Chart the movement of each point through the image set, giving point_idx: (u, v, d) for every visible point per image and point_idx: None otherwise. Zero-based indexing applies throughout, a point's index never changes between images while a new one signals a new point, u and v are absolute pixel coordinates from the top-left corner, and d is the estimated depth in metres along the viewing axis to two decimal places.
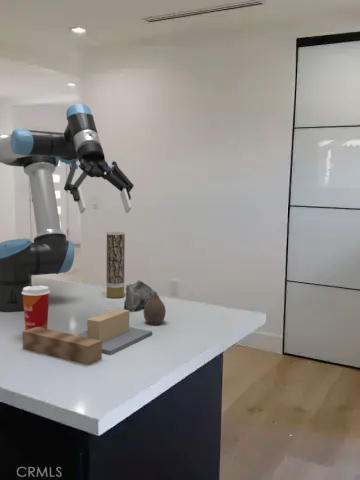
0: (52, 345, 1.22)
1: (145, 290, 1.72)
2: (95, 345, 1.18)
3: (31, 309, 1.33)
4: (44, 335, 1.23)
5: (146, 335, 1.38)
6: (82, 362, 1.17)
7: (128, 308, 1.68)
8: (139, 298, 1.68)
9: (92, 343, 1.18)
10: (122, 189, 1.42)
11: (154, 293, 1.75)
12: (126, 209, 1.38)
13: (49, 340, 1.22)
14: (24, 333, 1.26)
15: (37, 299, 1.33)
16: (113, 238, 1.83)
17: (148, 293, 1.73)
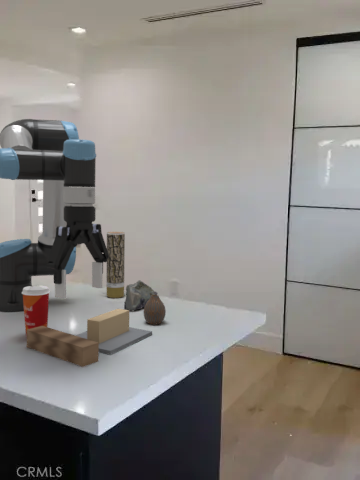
0: (51, 345, 1.22)
1: (145, 290, 1.72)
2: (91, 347, 1.17)
3: (31, 309, 1.33)
4: (45, 335, 1.23)
5: (146, 335, 1.38)
6: (77, 363, 1.16)
7: (128, 308, 1.67)
8: (139, 298, 1.68)
9: (88, 345, 1.16)
10: None
11: (154, 293, 1.75)
12: (94, 285, 1.25)
13: (49, 339, 1.22)
14: (28, 331, 1.28)
15: (37, 299, 1.33)
16: (113, 238, 1.83)
17: (148, 293, 1.72)
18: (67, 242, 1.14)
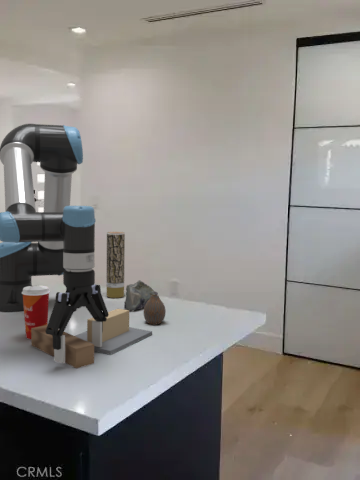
0: (51, 344, 1.22)
1: (145, 290, 1.72)
2: (85, 348, 1.16)
3: (31, 309, 1.33)
4: (46, 334, 1.24)
5: (146, 335, 1.38)
6: (71, 364, 1.15)
7: (128, 308, 1.67)
8: (139, 298, 1.68)
9: (82, 346, 1.15)
10: None
11: (154, 293, 1.75)
12: (94, 344, 1.26)
13: (49, 339, 1.23)
14: (32, 330, 1.29)
15: (37, 299, 1.33)
16: (113, 238, 1.83)
17: (148, 293, 1.72)
18: (66, 307, 1.16)
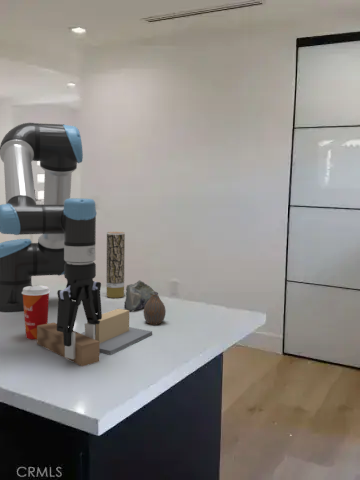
0: (56, 341, 1.23)
1: (145, 290, 1.72)
2: (91, 345, 1.17)
3: (31, 309, 1.33)
4: (51, 331, 1.25)
5: (146, 335, 1.38)
6: (77, 361, 1.17)
7: (128, 308, 1.67)
8: (139, 298, 1.68)
9: (88, 343, 1.17)
10: (88, 318, 1.24)
11: (155, 293, 1.74)
12: None
13: (54, 336, 1.24)
14: (38, 327, 1.30)
15: (37, 299, 1.33)
16: (113, 238, 1.83)
17: (148, 293, 1.72)
18: (70, 302, 1.17)
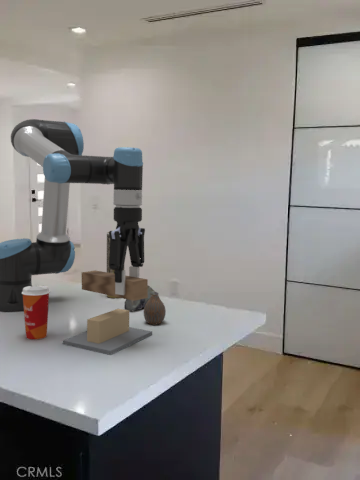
0: (105, 283, 1.34)
1: None
2: (141, 282, 1.28)
3: (31, 309, 1.33)
4: (98, 275, 1.36)
5: (146, 335, 1.38)
6: (129, 297, 1.28)
7: (128, 308, 1.67)
8: None
9: (138, 280, 1.28)
10: (132, 262, 1.35)
11: (155, 293, 1.74)
12: None
13: (102, 278, 1.35)
14: (83, 274, 1.40)
15: (37, 299, 1.33)
16: None
17: (149, 294, 1.72)
18: (120, 243, 1.28)
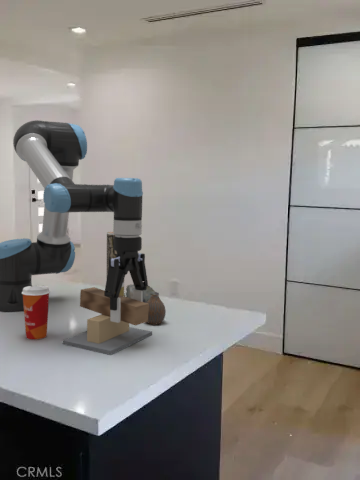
0: (105, 304, 1.34)
1: (145, 291, 1.71)
2: (142, 307, 1.29)
3: (31, 309, 1.33)
4: (98, 295, 1.36)
5: (146, 335, 1.38)
6: (130, 321, 1.29)
7: None
8: None
9: (140, 305, 1.29)
10: (136, 285, 1.37)
11: (155, 294, 1.74)
12: None
13: (102, 299, 1.35)
14: (82, 291, 1.40)
15: (37, 299, 1.33)
16: (113, 238, 1.83)
17: (149, 294, 1.72)
18: (118, 271, 1.28)
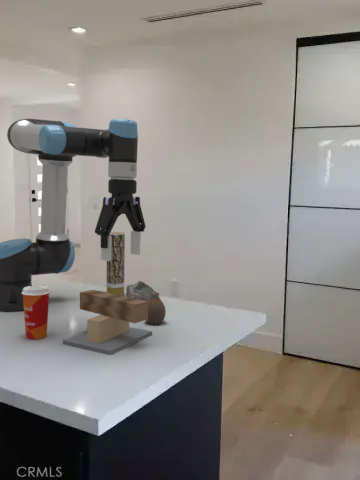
0: (104, 304, 1.34)
1: (146, 291, 1.71)
2: (141, 304, 1.29)
3: (31, 309, 1.33)
4: (98, 296, 1.36)
5: (146, 335, 1.38)
6: (129, 319, 1.29)
7: None
8: (139, 298, 1.68)
9: (139, 303, 1.29)
10: (134, 227, 1.38)
11: (156, 294, 1.74)
12: (133, 252, 1.38)
13: (101, 299, 1.35)
14: (81, 294, 1.40)
15: (37, 299, 1.33)
16: (113, 238, 1.83)
17: (149, 294, 1.72)
18: (112, 211, 1.28)
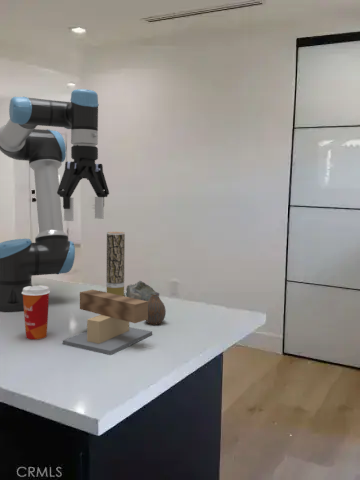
0: (104, 304, 1.34)
1: (146, 291, 1.71)
2: (141, 304, 1.29)
3: (31, 309, 1.33)
4: (98, 296, 1.36)
5: (146, 335, 1.38)
6: (129, 319, 1.29)
7: None
8: (139, 298, 1.67)
9: (139, 303, 1.29)
10: (98, 193, 1.48)
11: (156, 294, 1.73)
12: (97, 216, 1.48)
13: (101, 299, 1.35)
14: (81, 294, 1.40)
15: (37, 299, 1.33)
16: (113, 238, 1.83)
17: (149, 294, 1.71)
18: (74, 175, 1.37)
